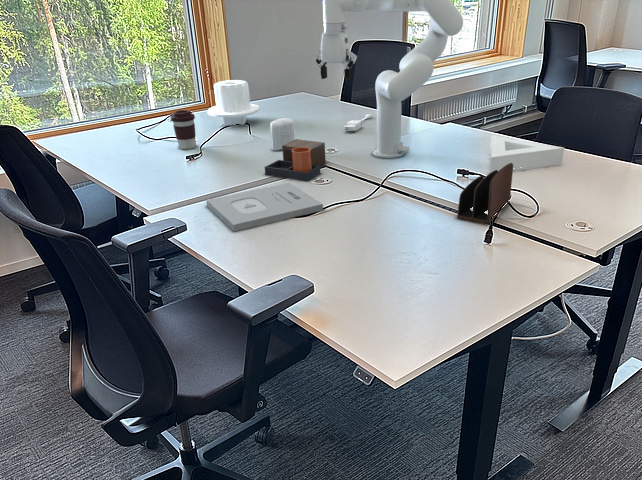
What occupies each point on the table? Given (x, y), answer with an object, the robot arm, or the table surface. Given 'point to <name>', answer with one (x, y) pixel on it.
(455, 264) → the table surface
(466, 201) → the letter holder
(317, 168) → the divided tray
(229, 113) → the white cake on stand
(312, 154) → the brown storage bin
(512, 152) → the triangle block
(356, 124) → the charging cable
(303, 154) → the cup
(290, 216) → the award plaque
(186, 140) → the coffee cup
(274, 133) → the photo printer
